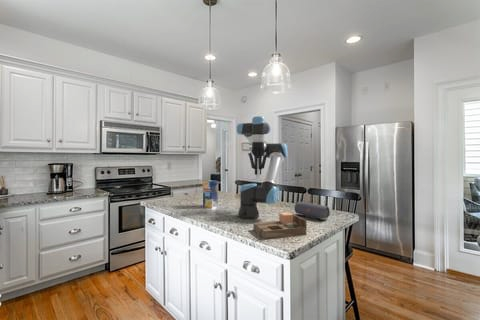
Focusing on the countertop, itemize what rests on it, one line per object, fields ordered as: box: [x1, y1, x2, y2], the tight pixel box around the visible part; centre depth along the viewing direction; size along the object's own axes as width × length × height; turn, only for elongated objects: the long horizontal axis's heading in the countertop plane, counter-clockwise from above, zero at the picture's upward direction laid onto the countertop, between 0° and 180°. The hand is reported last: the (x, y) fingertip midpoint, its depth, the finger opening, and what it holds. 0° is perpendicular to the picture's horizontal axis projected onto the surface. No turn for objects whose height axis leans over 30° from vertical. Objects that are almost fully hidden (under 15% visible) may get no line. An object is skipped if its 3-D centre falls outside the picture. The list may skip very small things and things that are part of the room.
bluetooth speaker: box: [294, 201, 330, 220], centre depth 167 cm, size 23×9×10 cm, turn 45°
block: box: [278, 211, 294, 224], centre depth 141 cm, size 6×6×5 cm
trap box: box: [252, 212, 307, 240], centre depth 135 cm, size 16×25×8 cm, turn 108°
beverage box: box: [202, 179, 219, 209], centre depth 201 cm, size 7×11×22 cm, turn 50°
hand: (257, 179), depth 147 cm, fingers closed
